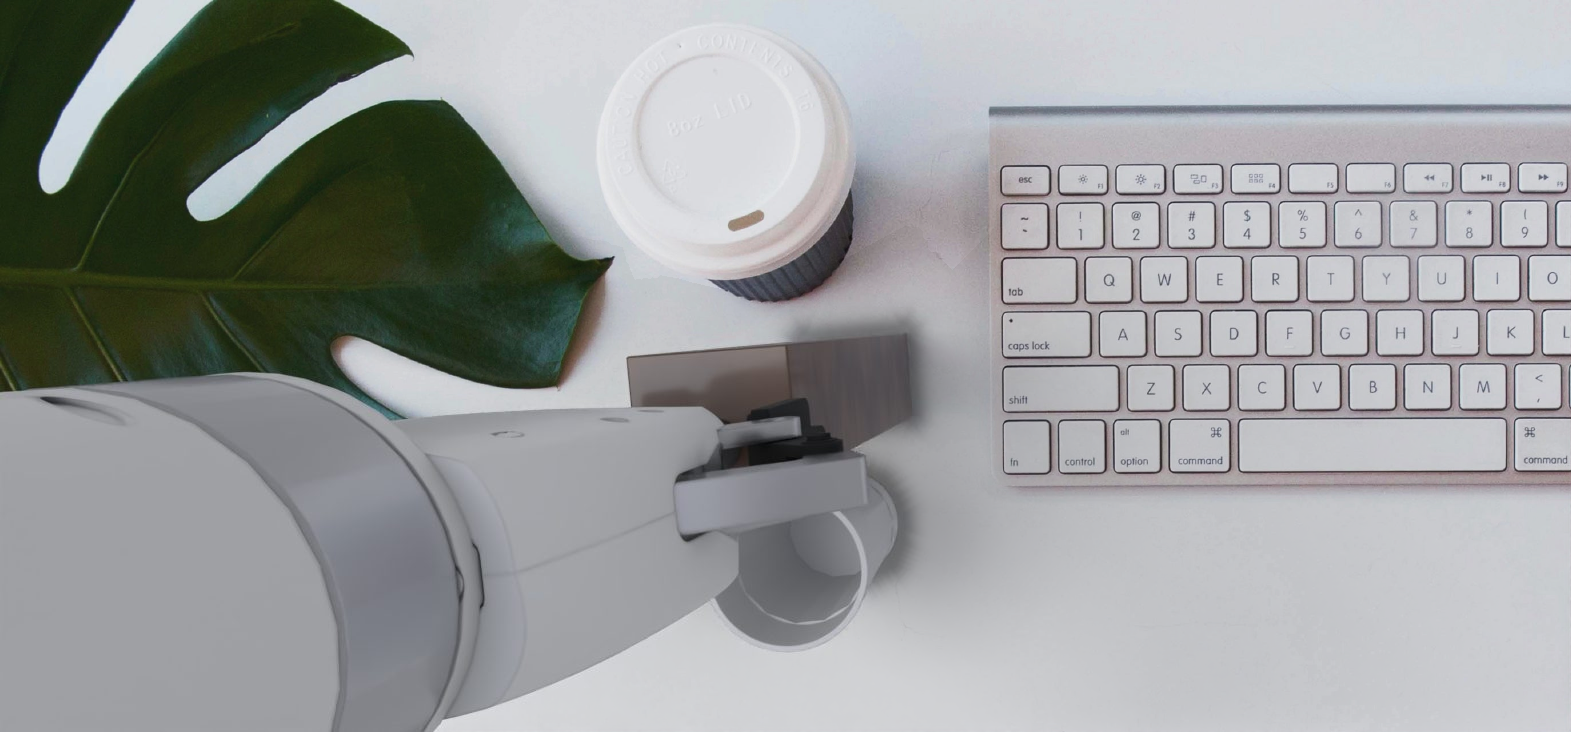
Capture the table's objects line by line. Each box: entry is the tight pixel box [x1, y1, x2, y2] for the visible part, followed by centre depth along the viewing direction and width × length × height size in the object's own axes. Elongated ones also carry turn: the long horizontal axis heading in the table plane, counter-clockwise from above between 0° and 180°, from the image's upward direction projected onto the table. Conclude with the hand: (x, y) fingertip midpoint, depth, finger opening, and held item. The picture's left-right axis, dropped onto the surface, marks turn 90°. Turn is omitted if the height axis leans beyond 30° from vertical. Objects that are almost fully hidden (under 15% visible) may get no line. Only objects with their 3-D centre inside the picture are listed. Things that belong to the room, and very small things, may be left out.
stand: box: [625, 332, 914, 469], centre depth 52 cm, size 5×6×24 cm
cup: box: [709, 475, 899, 653], centre depth 58 cm, size 8×8×12 cm
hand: (650, 459), depth 34 cm, fingers open, 9 cm apart
